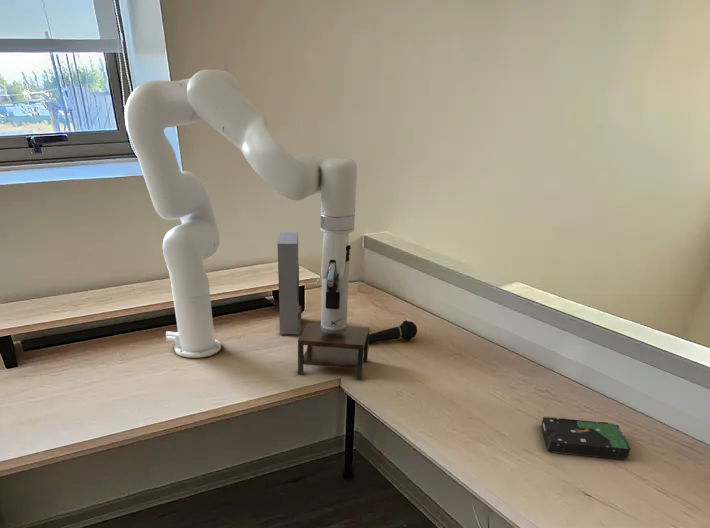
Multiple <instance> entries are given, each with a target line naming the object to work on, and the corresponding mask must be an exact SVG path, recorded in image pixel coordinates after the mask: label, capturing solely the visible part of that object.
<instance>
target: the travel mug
mask: <svg viewBox="0 0 710 528" xmlns="http://www.w3.org/2000/svg"><path fill="white" fill-rule="evenodd" d="M351 249H352V246H351V245H350V244H349V245H347V247H346V250H347V252H346V261H345V268H344V274H343V277H342V278H341V279H340V282H339V292H340V305H339V309H327V308H326V288H327V276H328V273H327V276H326V277H325V278H324V279H323V278H322V277H321V297H320V298H321V301H320V303H321V305H320V306H321V307H320V324H321V330H322V331H323V332H325V333H328V334H340V333H343V332H345V331H346V326H347V323H348V320H347V319H348V300H349V281H350V280H349V279H350V253H351ZM334 278H338V275H336V274H335V276H334ZM334 282H335V283H337V281H334Z"/></svg>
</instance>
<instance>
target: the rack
mask: <svg viewBox="0 0 710 528" xmlns="http://www.w3.org/2000/svg"><path fill="white" fill-rule="evenodd" d="M369 334H370V327H367V326H357V325H356V326H354V325H346V331H345V332H343V333H340V334H328V333H325V332H323V331H322V330H321V323H315V322H314V323H313V322H308V323H307V324H306V325H305V327H304V329H303V330H302V332H301V333H300V336H299V338H298V339H297V374H298V375H304V373H305V365H306V366H316V367H317V366H318V367H329V368H339V369H350V370H351V369H352V370H356V380H357V381H362V380H363V369H364V368H363V367H364V363H367V362H368V360H369V359H368V356H369V345H370V344H369ZM305 346H306V350H305V348H304V347H305Z"/></svg>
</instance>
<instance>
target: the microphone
mask: <svg viewBox="0 0 710 528" xmlns="http://www.w3.org/2000/svg"><path fill="white" fill-rule="evenodd" d="M417 334H418V327H417V325H416V324H415V323H414V322H413V321H410V320H409V321H408V320H404V321H402V323H401V324H400V325H399V326H394V327H390V328H387V329H382V330H379V331H375V332H372V333H369V344H368V345H370V344H376V343H382V342H389V341H394V340H400V339H402V340H403V341H405V342H411V340H413V339H414V338H415V337H416V336H417Z"/></svg>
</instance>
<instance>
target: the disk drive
mask: <svg viewBox="0 0 710 528" xmlns="http://www.w3.org/2000/svg"><path fill="white" fill-rule="evenodd" d="M540 428H541V432H542V436H543V441H544V443H545V448H546V451H547V452H551V453H556V454H566V455H576V456H588V457H596V458H605V459H613V460H614V459H616V460H628V457H629V455H630V453H631V449H632V448H631V447H630V445H629V442H628V441H627V437H626V436H625V435H624V434H623V432H622V429H621V428H620V425H619V424H615V423H610V422H605V421H592V420H582V419H573V418H572V419H571V418H562V417H561V418H559V417H551V416H543V417H542V420H541V424H540Z"/></svg>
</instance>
